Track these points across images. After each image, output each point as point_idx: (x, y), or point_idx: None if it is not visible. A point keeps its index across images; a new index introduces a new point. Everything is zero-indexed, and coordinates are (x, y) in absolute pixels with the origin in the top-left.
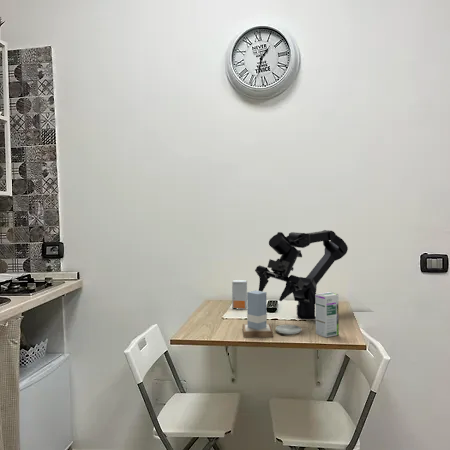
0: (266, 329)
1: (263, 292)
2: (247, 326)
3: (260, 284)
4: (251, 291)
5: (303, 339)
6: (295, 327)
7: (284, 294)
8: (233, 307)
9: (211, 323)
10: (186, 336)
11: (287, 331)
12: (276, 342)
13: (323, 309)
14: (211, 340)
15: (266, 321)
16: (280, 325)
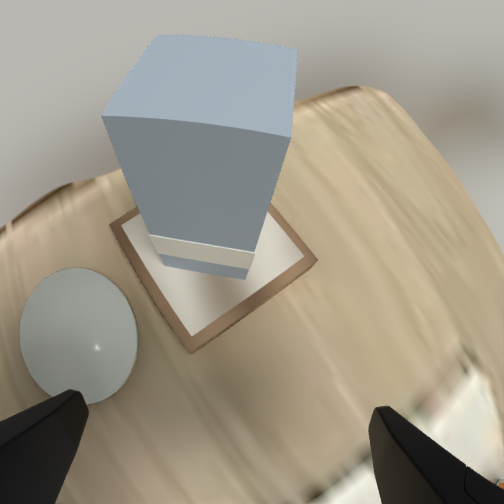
0: (146, 229)
1: (132, 94)
2: (263, 225)
3: (447, 470)
4: (290, 79)
5: (6, 272)
6: (48, 363)
7: (11, 423)
8: (501, 482)
9: (454, 265)
10: (384, 109)
11: (55, 274)
12: (82, 183)
13: None
14: (300, 101)
15: (159, 254)
16: (126, 362)
